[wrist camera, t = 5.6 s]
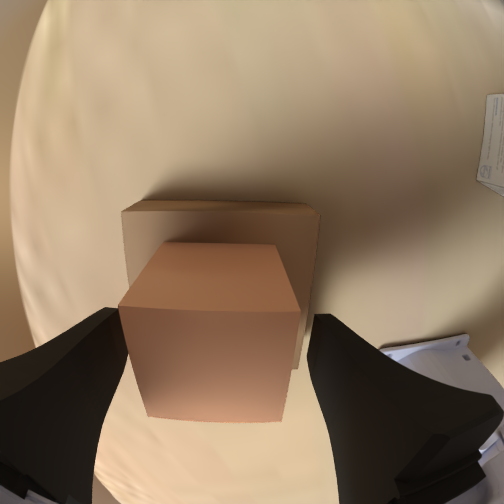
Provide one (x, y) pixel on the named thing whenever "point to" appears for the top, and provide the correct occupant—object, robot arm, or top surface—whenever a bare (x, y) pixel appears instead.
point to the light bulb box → (493, 145)
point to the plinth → (228, 236)
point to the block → (212, 332)
